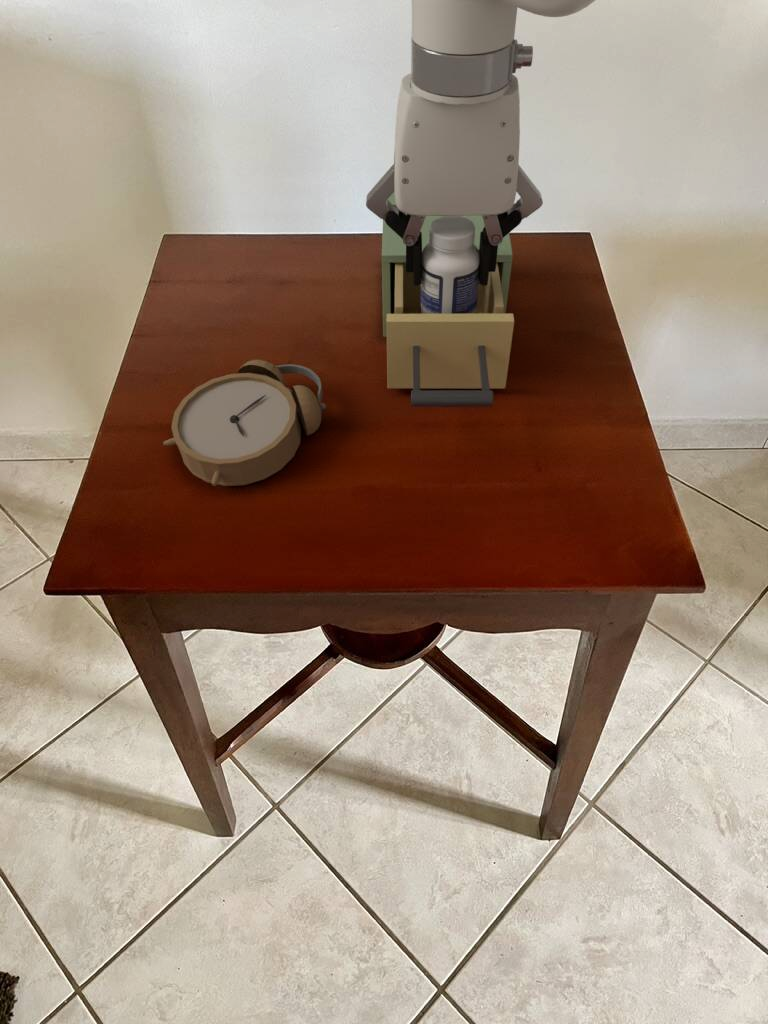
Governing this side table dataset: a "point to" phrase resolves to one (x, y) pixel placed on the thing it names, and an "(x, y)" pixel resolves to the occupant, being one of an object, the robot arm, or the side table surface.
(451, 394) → the drawer
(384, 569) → the side table surface
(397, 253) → the cabinet
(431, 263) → the pill bottle
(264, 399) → the alarm clock
